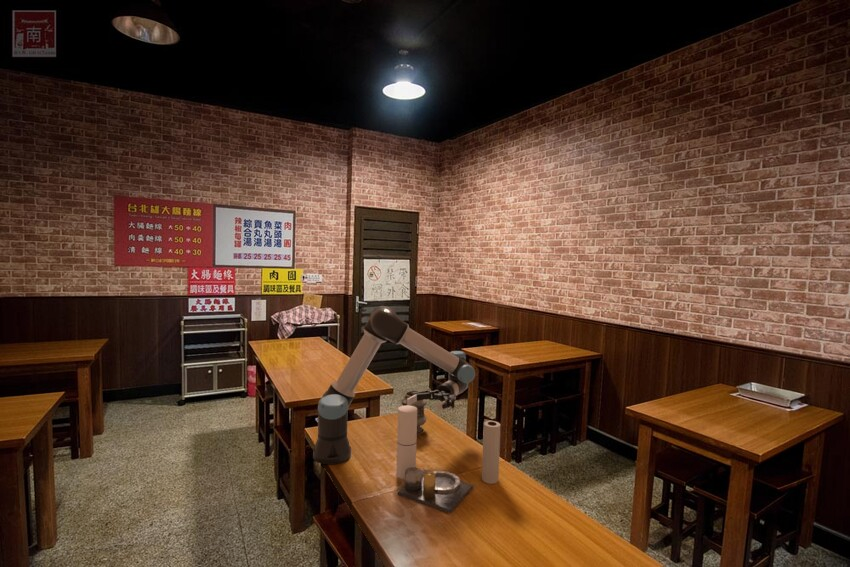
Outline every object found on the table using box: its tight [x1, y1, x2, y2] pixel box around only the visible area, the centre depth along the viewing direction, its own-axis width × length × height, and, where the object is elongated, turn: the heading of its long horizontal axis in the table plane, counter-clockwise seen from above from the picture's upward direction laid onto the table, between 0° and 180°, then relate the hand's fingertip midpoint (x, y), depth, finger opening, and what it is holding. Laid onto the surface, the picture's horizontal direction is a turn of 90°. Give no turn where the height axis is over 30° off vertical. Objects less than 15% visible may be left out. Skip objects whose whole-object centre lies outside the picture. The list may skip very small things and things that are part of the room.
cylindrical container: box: [395, 405, 418, 480], centre depth 156 cm, size 7×7×25 cm
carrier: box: [397, 466, 474, 514], centre depth 146 cm, size 20×20×8 cm
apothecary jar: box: [401, 390, 427, 435], centre depth 196 cm, size 12×12×18 cm
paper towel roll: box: [481, 418, 501, 485], centre depth 154 cm, size 7×6×21 cm
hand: (422, 405), depth 164 cm, fingers open, 13 cm apart
